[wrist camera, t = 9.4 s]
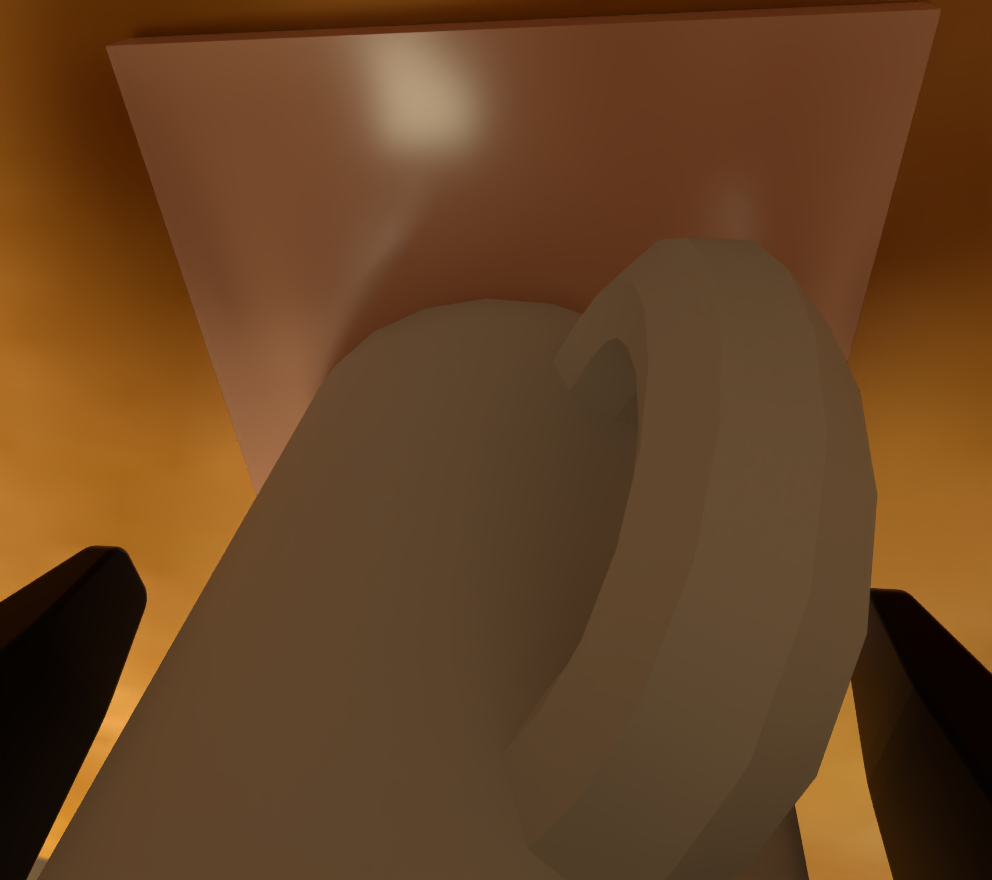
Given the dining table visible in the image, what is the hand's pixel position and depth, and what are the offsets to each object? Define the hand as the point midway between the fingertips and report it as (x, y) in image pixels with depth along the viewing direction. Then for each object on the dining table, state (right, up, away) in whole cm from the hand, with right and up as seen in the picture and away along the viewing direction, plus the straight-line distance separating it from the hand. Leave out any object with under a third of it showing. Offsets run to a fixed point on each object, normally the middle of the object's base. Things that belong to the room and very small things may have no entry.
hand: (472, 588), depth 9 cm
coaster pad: (+1, +3, +4) cm, 5 cm away
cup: (+1, +2, +3) cm, 4 cm away
